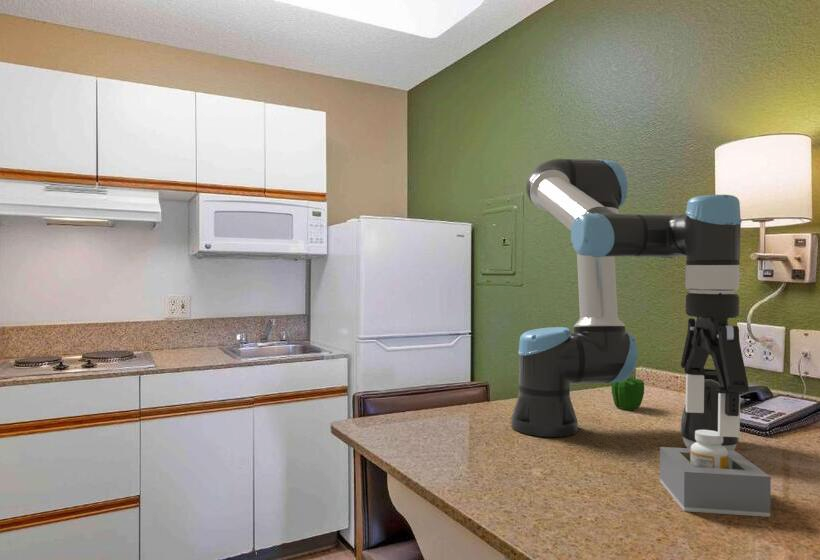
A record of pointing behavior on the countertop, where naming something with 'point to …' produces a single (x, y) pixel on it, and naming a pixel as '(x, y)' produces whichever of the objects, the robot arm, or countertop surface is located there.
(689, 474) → the well
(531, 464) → the countertop surface
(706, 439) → the supplement bottle
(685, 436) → the pump dispenser
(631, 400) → the bell pepper
